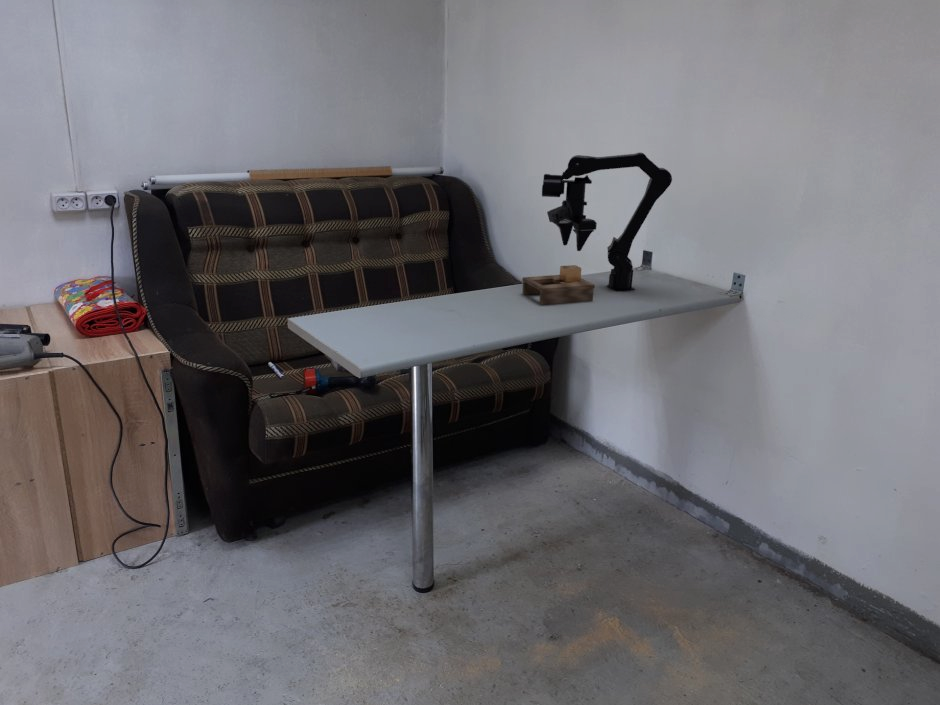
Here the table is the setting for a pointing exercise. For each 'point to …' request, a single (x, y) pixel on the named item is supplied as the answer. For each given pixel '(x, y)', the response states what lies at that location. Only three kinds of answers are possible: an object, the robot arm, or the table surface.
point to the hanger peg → (570, 273)
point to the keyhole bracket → (558, 289)
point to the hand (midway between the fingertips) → (571, 248)
